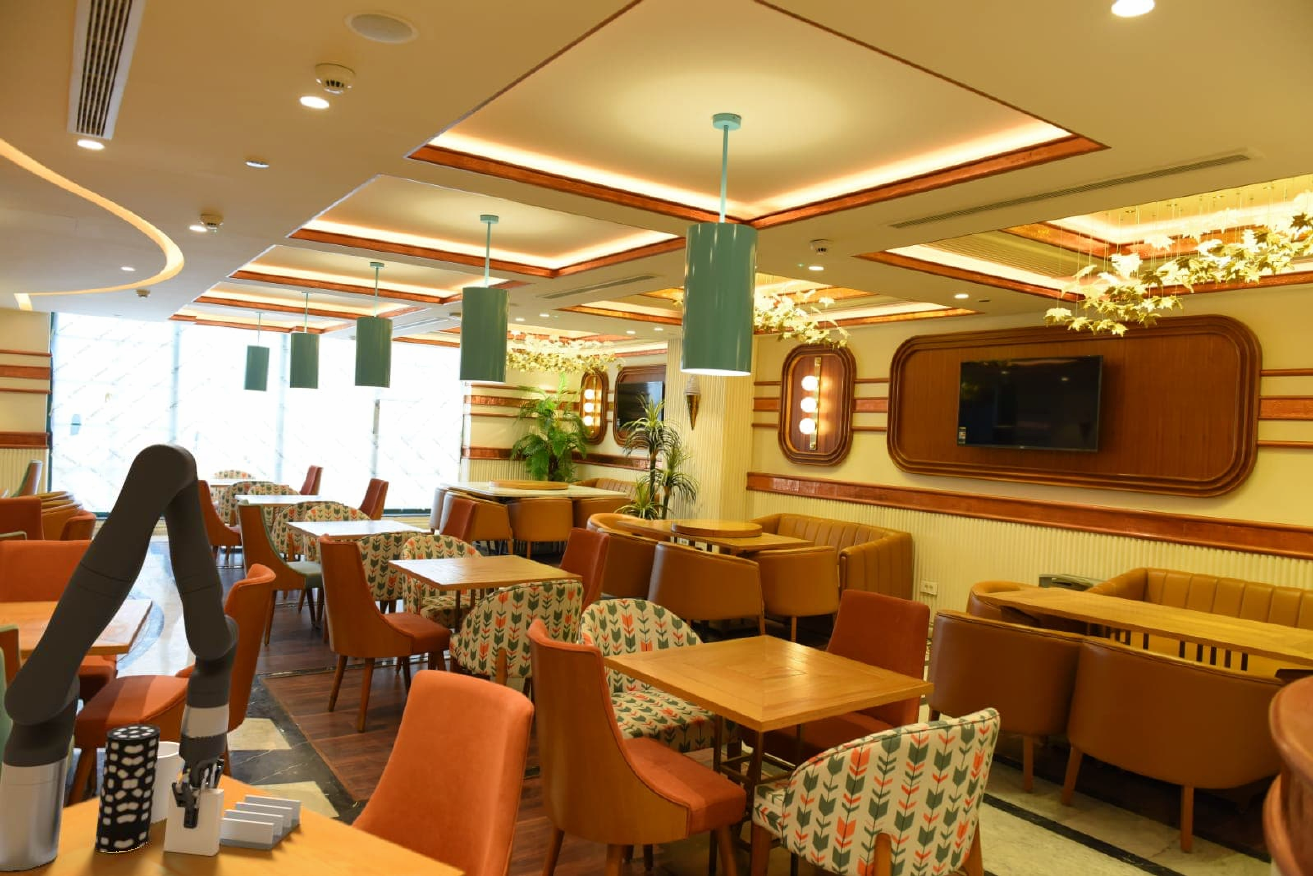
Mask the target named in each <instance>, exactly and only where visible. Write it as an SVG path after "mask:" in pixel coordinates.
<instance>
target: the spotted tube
mask: <svg viewBox="0 0 1313 876" xmlns="http://www.w3.org/2000/svg"><path fill="white" fill-rule="evenodd" d="M160 735H161V728H160V727H158V726H154V725H150V724H131V725H130V724H129V725H123V726H118V727H115V728H113V729H110V730H109V731H108V732H107V733H106V740H105V748H104V749H105V750H104V758H103V768H102V777H101V778H102V779H101V787H100V796H99V805H98V806H99V807H98V814H97V823H96V832H95V833H96V834H95V843H94V849H95V848H96V849H97V850H98V851H97V850H96V849H95V850H96V851H97V852H99V851H104V852H116V851H117V852H119V851H128V850H131V849H135V848H137V847H141V848H143V847H144V846H143V845H144V844H146V842H148V843H149V841H150V830H151V824H150V823H151V814H152V805H153V795H154V786H155V777H156V767H157V758H158V748H159V742H160V739H161V736H160ZM148 840H149V841H148ZM146 845H147V844H146ZM142 846H143V847H142Z"/></svg>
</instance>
